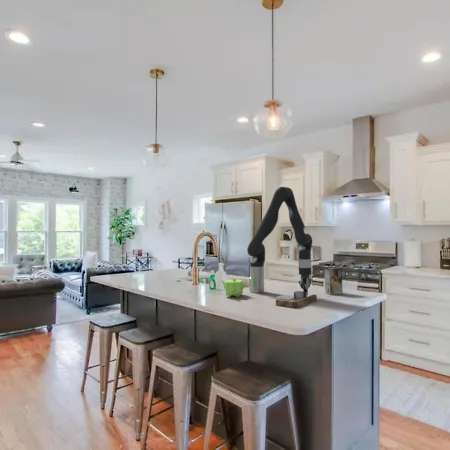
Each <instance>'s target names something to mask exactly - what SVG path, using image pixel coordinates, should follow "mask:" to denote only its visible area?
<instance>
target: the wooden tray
mask: <svg viewBox="0 0 450 450" xmlns="http://www.w3.org/2000/svg"><path fill="white" fill-rule="evenodd" d="M317 300H318V296H317V294H312V295H307V297H305V298H302V299H299V300H298V299H294V298H293V299H290V300H285V299H278V298H276V300H275V306H278V307H285V308H290V309H292V308H293V309H297V308H300V307H302V306H304V305H307V304H310V303H313V302H316V301H317Z"/></svg>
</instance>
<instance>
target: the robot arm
mask: <svg viewBox="0 0 450 450" xmlns="http://www.w3.org/2000/svg"><path fill="white" fill-rule="evenodd" d="M283 203H285V205H286V208H287V209H288V217H289V218H288V219H289V222H290V225H291V226H292V229H293V232H294V239H295V241H296V243H297V245H299V246H301V248H300V249H299V250H298V274H299V275H300V280H298V284H299V287H300V289H302V290H303V292H307V296H309V291H308V289H309V288H310V287H311V285H312V284H311V283H312V278H311V277H310V276H311V275H312V259H311V258H312V257H311V256H312V255H311V251H312V247H313V237H312V235H311V234H310V233H305V227H306V226H305V223H304V221H303V218H302V216H301V214H300V212H299V210H298V207H297V201H296V199H295V194H294V192H293V189H292V188H290V187H286V186H279V187H277V188H276V189H275V191H274V194H273V197H272V199H271V201H270V204H269V206H268V208H267V210H266V212H265V214H264V217H263V218H262V219H261V221H260V222H261V223H260V225H259V227H258V228H257V230H256V232H255V234H254V235H253V237H252V239H251V241H250V242H249V244H248V246H247V249H246V250H247V254H248V256H250V257H253V258H252V260H251V261H250V262H249V267H250V268H249V269H250V272H249V273H250V274H249V275H250V277H248V281H249V282H248V286H249V291H250V293H253V294H255V293H256V294H257V293H261V294H262V293H265V261H266V247H265V245H264V244H263V242H264V241H265V240H266V238H267V237H268V236H270V234H271V233H272V232H273V231H274V230H275V228H276V226H277V223H278V220H279V211H280V209H281V207H282V205H283Z"/></svg>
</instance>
